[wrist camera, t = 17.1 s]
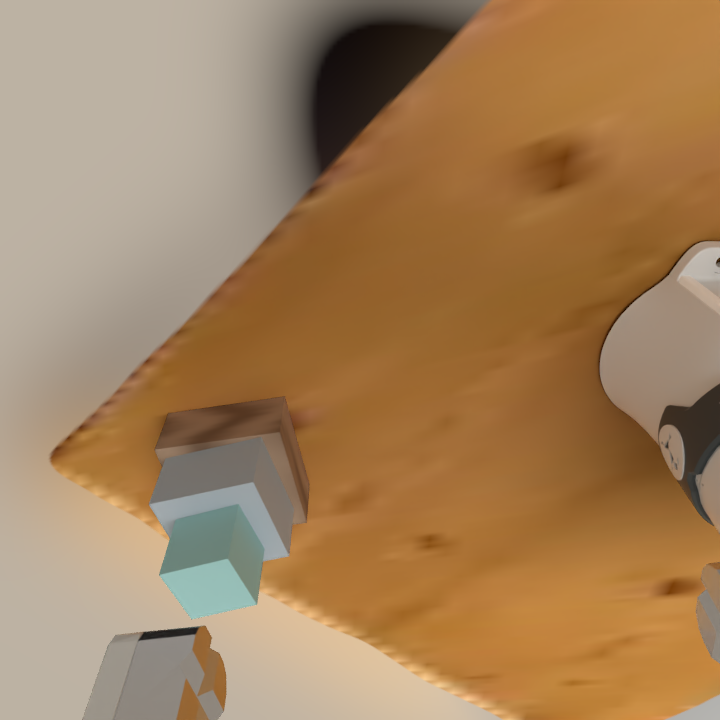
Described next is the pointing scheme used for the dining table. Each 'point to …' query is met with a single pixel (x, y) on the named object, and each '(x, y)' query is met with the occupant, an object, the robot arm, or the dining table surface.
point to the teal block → (213, 562)
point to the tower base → (240, 425)
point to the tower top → (227, 491)
